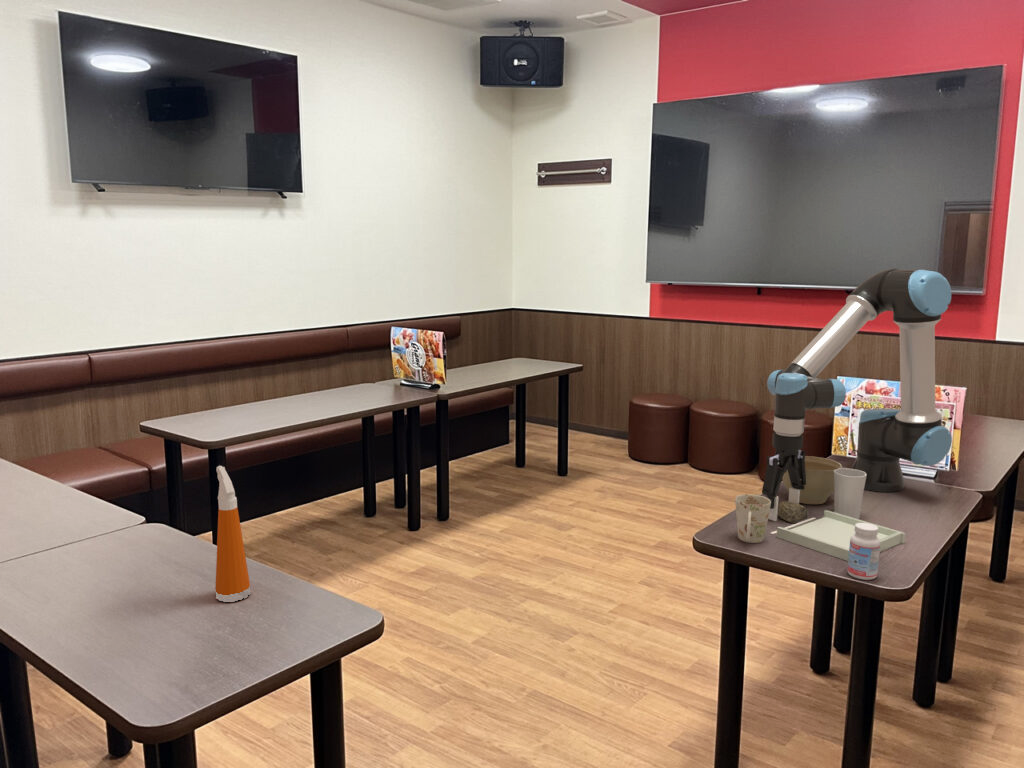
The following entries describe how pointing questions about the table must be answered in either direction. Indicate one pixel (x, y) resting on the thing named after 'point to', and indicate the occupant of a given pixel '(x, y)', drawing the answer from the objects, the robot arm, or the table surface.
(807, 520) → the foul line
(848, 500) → the cup
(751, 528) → the mug
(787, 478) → the planter bowl
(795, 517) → the rock
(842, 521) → the white square tray
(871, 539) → the pill bottle
